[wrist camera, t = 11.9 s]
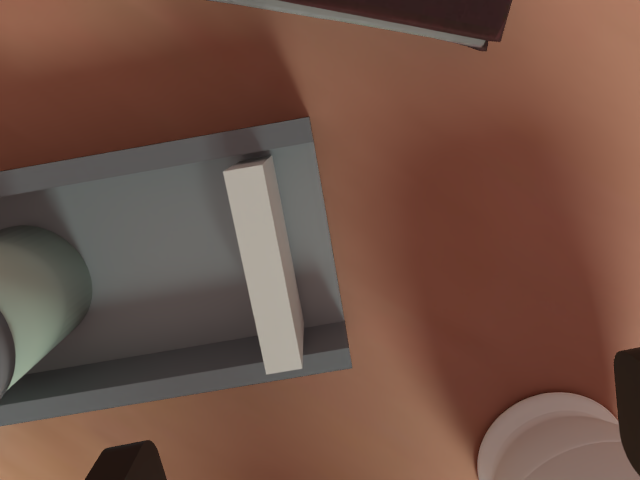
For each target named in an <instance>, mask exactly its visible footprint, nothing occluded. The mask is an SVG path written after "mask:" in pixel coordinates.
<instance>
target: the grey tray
mask: <svg viewBox="0 0 640 480" xmlns="http://www.w3.org/2000/svg"><path fill="white" fill-rule="evenodd" d="M269 155H272V157H273V163H274V168H275V173H276V178H277V184H278V189H279V194H280V199H281V204H282V210H283V215H284V220H285V225H286V231H287V236H288V241H289V246H290V252H291V257H292V262H293V267H294V273H295V278H296V283H297V288H298V293H299V299H300V304H301V309H302V314H303V320H304V338H303V365H302V369H297V370H291V371H285V372H279V373H273V374H267V375H266V371H265V367H264V362H263V357H262V352H261V348H260V343H259V338H258V334H257V329H256V324H255V320H254V315H253V310H252V306H251V301H250V296H249V292H248V287H247V282H246V278H245V273H244V268H243V264H242V259H241V254H240V249H239V245H238V240H237V235H236V231H235V226H234V221H233V217H232V212H231V207H230V203H229V198H228V193H227V189H226V184H225V179H224V175H223V171H225V170H226V169H228V168H229V167H231V166H232V165H234V164H236V163H237V162H239V161H240V160H246V159H252V158H257V157H263V156H269ZM19 225H27V226H35V227H40V228H43V229H46V230H49V231H51V232H54V233H55V234H57V235H59V236H61V237H62V238H64V239H65V240H66V241H68V242H69V243H70V244H71V245H72V246H73V247H74V248H75V249H76V250H77V251H78V252H79V254H80V255H81V257H82V258H83V260H84V261H85V263H86V265H87V267H88V270H89V273H90V276H91V281H92V300H91V304H90V307H89V310H88V312H87V314H86V316H85V318H84V319H83V320H82V322H81V323H80V324H79V325H78V326H77V327H76V328H75V329H74V330H73V331H72V332H71V333H70V334H69V335H67V336H66V337H65V338H64V339H63V340H62V341H61V342H60V343H59V344H57V345H56V346H55V347H54V348H53V349H52V350H51V351H50V352H49V353H48V354H46V355H45V356H44V357H43V358H42V359H41V360H40V361H39V362H38V363H37V364H35V365H34V366H33V367H32V368H31V369H30V370H29V371H28V372H27V373H26V374H24V375H23V376H22V377H21V378H20V379H19V380H18V381H17V382H16V383H15V384H13V385H12V386H11V387H10V388H9V389H8V390H7V391H6V393H5V394H4V395H3V397H2V398H1V399H0V426H5V425H11V424H17V423H23V422H29V421H35V420H41V419H47V418H53V417H59V416H65V415H71V414H77V413H84V412H90V411H96V410H102V409H108V408H114V407H120V406H126V405H132V404H138V403H144V402H150V401H156V400H162V399H168V398H174V397H180V396H186V395H192V394H198V393H204V392H211V391H217V390H223V389H229V388H235V387H241V386H247V385H253V384H259V383H265V382H271V381H277V380H283V379H289V378H295V377H301V376H307V375H313V374H319V373H325V372H331V371H338V370H344V369H350V368H352V363H351V357H350V351H349V344H348V338H347V332H346V326H345V320H344V315H343V309H342V303H341V297H340V291H339V286H338V280H337V274H336V268H335V262H334V257H333V251H332V245H331V239H330V234H329V228H328V222H327V216H326V210H325V205H324V199H323V193H322V187H321V181H320V176H319V170H318V164H317V158H316V152H315V147H314V141H313V135H312V129H311V123H310V118H309V117H305V118H300V119H294V120H288V121H283V122H277V123H271V124H266V125H260V126H254V127H249V128H243V129H237V130H232V131H226V132H221V133H215V134H209V135H204V136H198V137H192V138H187V139H181V140H175V141H170V142H164V143H158V144H153V145H147V146H141V147H136V148H130V149H125V150H119V151H113V152H108V153H102V154H96V155H91V156H85V157H79V158H74V159H68V160H62V161H57V162H51V163H45V164H40V165H34V166H29V167H23V168H17V169H12V170H6V171H0V230H1V229H4V228H7V227H11V226H19Z"/></svg>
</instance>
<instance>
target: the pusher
mask: <svg viewBox="0 0 640 480" xmlns="http://www.w3.org/2000/svg"><path fill="white" fill-rule="evenodd" d="M223 175H224V179H225V184H226V189H227V193H228V198H229V203H230V207H231V212H232V217H233V221H234V226H235V231H236V235H237V240H238V245H239V249H240V254H241V259H242V264H243V268H244V273H245V278H246V282H247V287H248V292H249V296H250V301H251V306H252V310H253V315H254V320H255V324H256V329H257V334H258V338H259V343H260V348H261V352H262V357H263V362H264V367H265V371H266V375H267V374H273V373H279V372H285V371H291V370H297V369H302V365H303V338H304V320H303V314H302V309H301V304H300V299H299V293H298V288H297V283H296V278H295V273H294V267H293V262H292V257H291V252H290V246H289V241H288V236H287V231H286V225H285V220H284V215H283V210H282V204H281V199H280V194H279V189H278V184H277V178H276V173H275V168H274V163H273V157H272V155H269V156H263V157H257V158H252V159H246V160H240V161H239V162H237V163H236V164H234V165H232V166H231V167H229V168H228V169H226V170H225V171H223Z"/></svg>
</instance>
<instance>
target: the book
mask: <svg viewBox="0 0 640 480" xmlns="http://www.w3.org/2000/svg"><path fill="white" fill-rule="evenodd" d="M208 1H216V2H223V3H229V4H236V5H243V6H249V7H255V8H260V9H267V10H273V11H279V12H285V13H291V14H298V15H303V16H309V17H315V18H321V19H328V20H335V21H341V22H346V23H352V24H358V25H363V26H369V27H375V28H380V29H386V30H391V31H397V32H403V33H408V34H414V35H419V36H425V37H430V38H435V39H439V40H444V41H448V42H453V43H457V44H461V45H464V46H468V47H471V48H473V49H476V50H479V51H487V46H488V41H496V42H500V41H501V38H502V34H503V31H504V27H505V24H506V20H507V17H508V13H509V10H510V6H511V2H512V0H208Z"/></svg>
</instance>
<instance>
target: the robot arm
mask: <svg viewBox="0 0 640 480" xmlns="http://www.w3.org/2000/svg"><path fill="white" fill-rule="evenodd" d="M614 374H615V386H616V398H617V409H618V421H619V432H620V438H621V442H622V446H623V448H624V451H625V453H626V456H627V458H628V460H629V462H630V463H631V465H632V467H633V468H634V470H635V471H636V472H637V474H638V475H639V476H640V347H639V348H633V349H628V350H623V351H619V352H618V353H617V354H616V355H615V359H614ZM85 480H167V479H166V476H165V472H164V469H163V466H162V463H161V459H160V456H159V453H158V450H157V448H156V446H155V444H154V443H153V442H152V441H150V440H146V441H141V442H136V443H131V444H125V445H120V446H115V447H110V448H106V449H105V450H103V452H102V453H101V454H100V456H99V458H98V459H97V461H96V462H95V464H94V466H93V467H92V469H91V470H90V472H89V474H88V475H87V477H86V478H85Z"/></svg>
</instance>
